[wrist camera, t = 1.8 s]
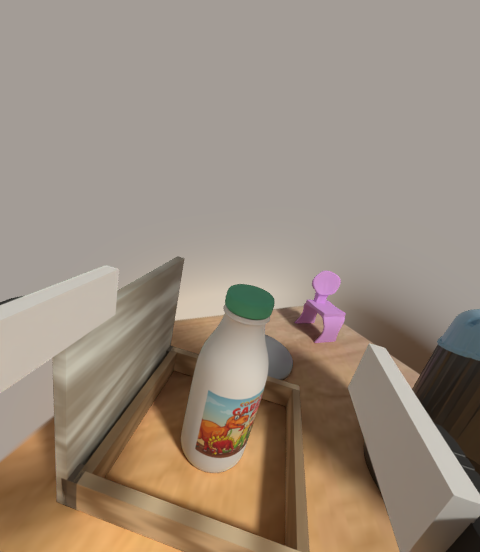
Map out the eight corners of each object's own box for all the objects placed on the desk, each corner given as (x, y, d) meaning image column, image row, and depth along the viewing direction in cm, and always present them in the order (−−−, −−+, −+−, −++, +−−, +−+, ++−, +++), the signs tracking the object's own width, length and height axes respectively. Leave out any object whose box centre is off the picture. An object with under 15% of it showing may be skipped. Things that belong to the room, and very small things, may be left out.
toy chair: (312, 344, 57) (336, 283, 52) (290, 322, 64) (309, 267, 59) (339, 342, 60) (364, 284, 55) (316, 321, 68) (336, 269, 63)
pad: (291, 345, 54) (292, 342, 54) (292, 393, 41) (293, 390, 41) (227, 326, 55) (228, 323, 55) (209, 367, 42) (210, 363, 42)
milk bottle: (166, 455, 28) (196, 292, 21) (198, 404, 35) (228, 270, 28) (230, 490, 26) (285, 325, 20) (251, 429, 33) (296, 292, 27)
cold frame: (292, 403, 39) (332, 299, 33) (297, 595, 20) (391, 437, 14) (161, 361, 41) (177, 256, 35) (56, 502, 22) (51, 328, 16)
